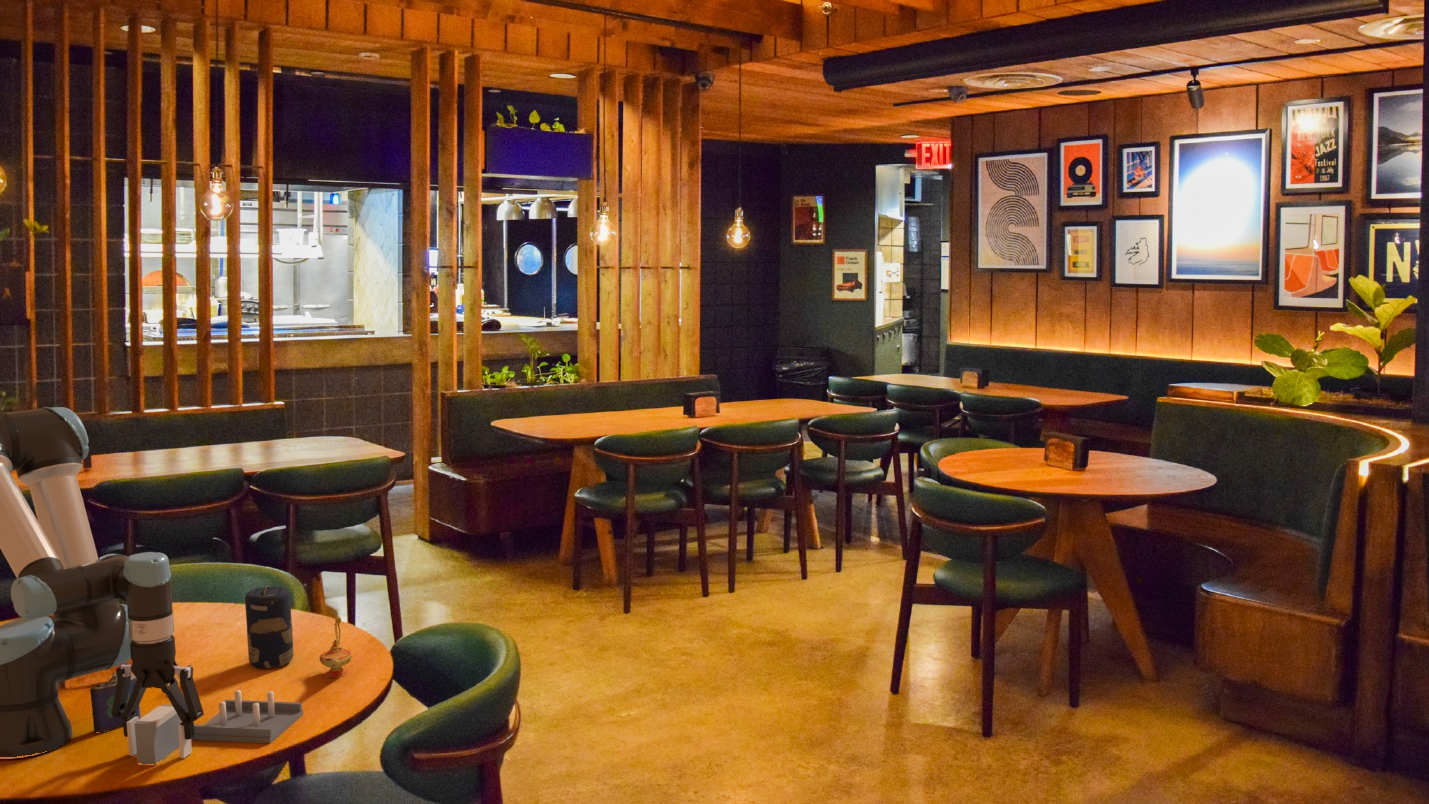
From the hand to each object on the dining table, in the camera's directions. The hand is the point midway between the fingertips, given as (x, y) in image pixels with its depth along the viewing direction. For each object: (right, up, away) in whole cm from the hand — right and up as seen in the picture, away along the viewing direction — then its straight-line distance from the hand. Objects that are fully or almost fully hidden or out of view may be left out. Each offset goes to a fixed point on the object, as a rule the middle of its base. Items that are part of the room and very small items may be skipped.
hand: (160, 753), depth 227 cm
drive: (0, 0, 0) cm, 0 cm away
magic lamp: (+20, +5, +40) cm, 45 cm away
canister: (+3, +6, +48) cm, 48 cm away
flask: (-15, +1, +14) cm, 20 cm away
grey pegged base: (+11, +2, +13) cm, 17 cm away
